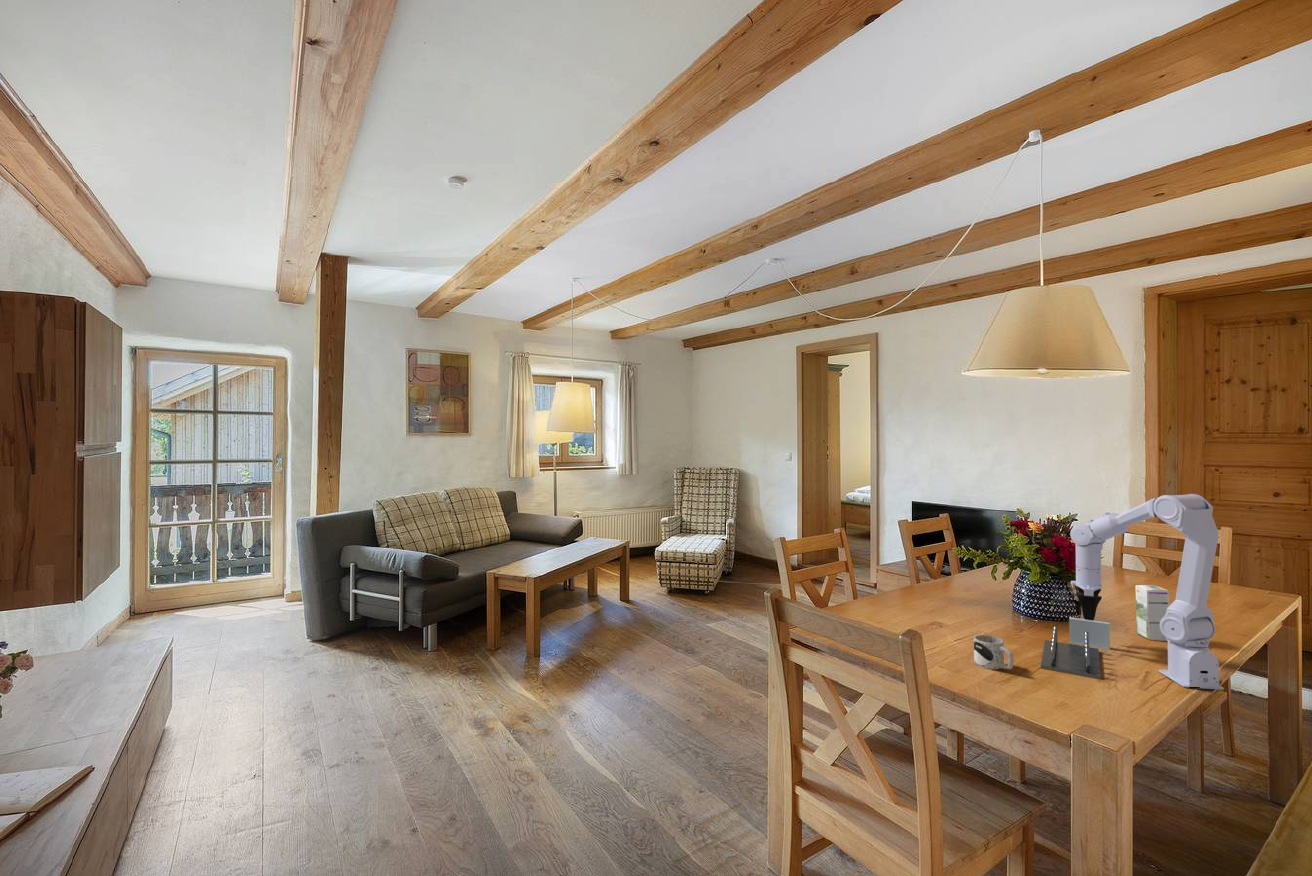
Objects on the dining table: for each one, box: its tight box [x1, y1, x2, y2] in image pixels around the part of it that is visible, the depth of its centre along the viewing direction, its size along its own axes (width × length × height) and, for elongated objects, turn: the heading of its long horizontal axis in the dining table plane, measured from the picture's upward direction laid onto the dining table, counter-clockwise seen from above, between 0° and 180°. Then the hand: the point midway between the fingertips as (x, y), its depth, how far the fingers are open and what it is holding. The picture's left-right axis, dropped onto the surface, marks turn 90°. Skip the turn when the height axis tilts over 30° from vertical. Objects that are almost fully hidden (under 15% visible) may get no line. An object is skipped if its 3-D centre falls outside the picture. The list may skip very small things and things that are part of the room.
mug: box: [973, 634, 1015, 671], centre depth 148 cm, size 10×7×7 cm
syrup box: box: [1135, 584, 1170, 642], centre depth 168 cm, size 6×6×14 cm
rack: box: [1040, 626, 1102, 680], centre depth 152 cm, size 22×12×5 cm, turn 144°
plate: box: [1068, 616, 1111, 650], centre depth 163 cm, size 2×9×7 cm, turn 54°
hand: (1088, 616), depth 163 cm, fingers open, 7 cm apart
